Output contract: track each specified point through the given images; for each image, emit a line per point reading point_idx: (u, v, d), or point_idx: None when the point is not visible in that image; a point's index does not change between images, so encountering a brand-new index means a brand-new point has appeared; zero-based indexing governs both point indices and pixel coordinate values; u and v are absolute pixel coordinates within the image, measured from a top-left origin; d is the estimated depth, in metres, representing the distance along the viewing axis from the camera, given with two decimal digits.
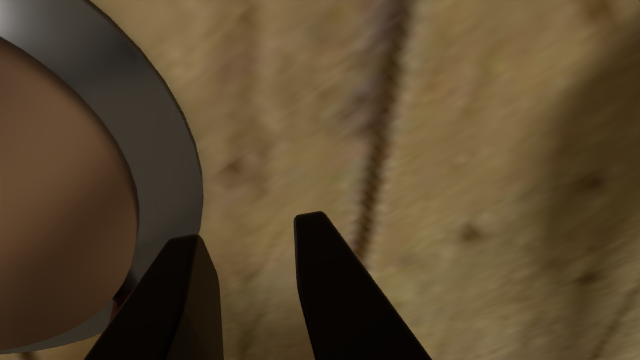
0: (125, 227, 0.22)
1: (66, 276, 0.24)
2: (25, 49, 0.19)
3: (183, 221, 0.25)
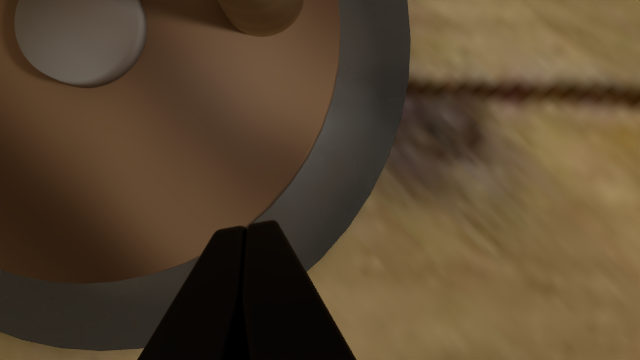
0: (52, 270, 0.19)
1: None
2: None
3: (35, 321, 0.20)
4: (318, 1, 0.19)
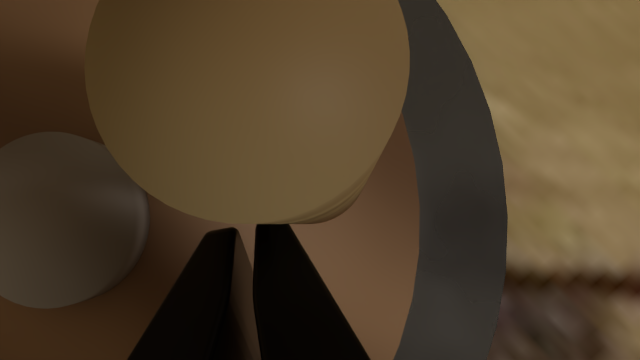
0: None
1: None
2: None
3: None
4: (388, 171, 0.14)
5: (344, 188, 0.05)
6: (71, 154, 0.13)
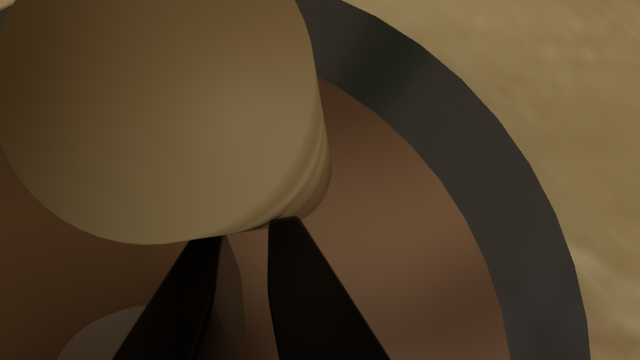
0: None
1: None
2: None
3: None
4: (330, 113, 0.14)
5: (313, 89, 0.05)
6: (101, 340, 0.13)
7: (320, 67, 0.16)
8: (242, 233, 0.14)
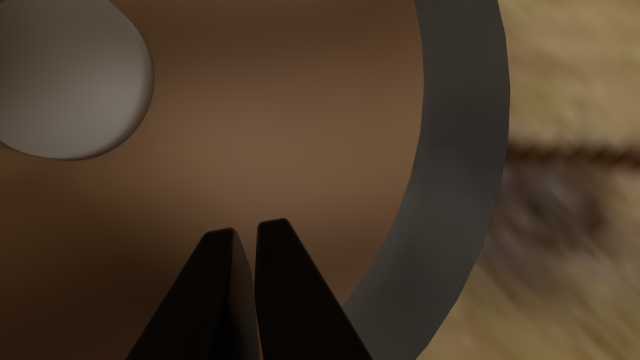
0: None
1: (139, 333, 0.14)
2: None
3: None
4: None
5: None
6: (21, 10, 0.13)
7: None
8: None
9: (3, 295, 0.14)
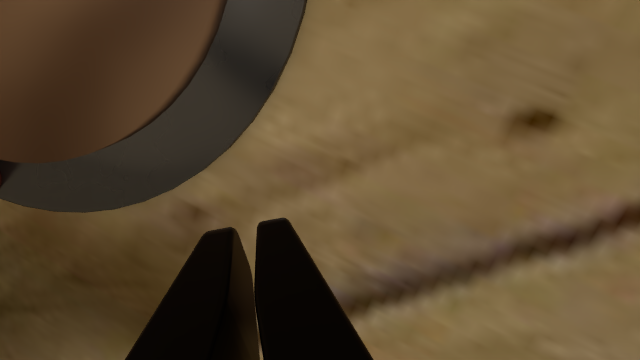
0: None
1: (117, 57, 0.20)
2: None
3: (114, 190, 0.23)
4: None
5: None
6: None
7: None
8: None
9: (37, 79, 0.21)
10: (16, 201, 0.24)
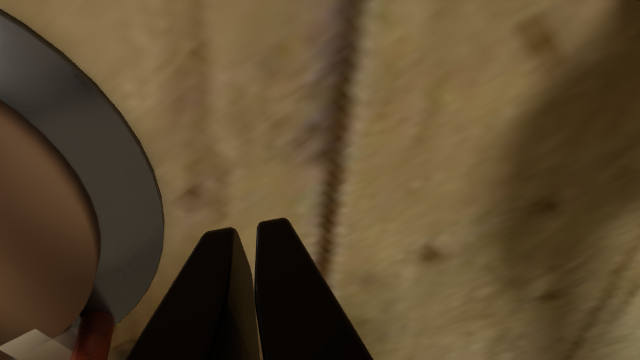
0: None
1: (11, 203, 0.21)
2: None
3: (145, 244, 0.25)
4: None
5: None
6: None
7: None
8: None
9: (15, 265, 0.23)
10: (128, 310, 0.28)
